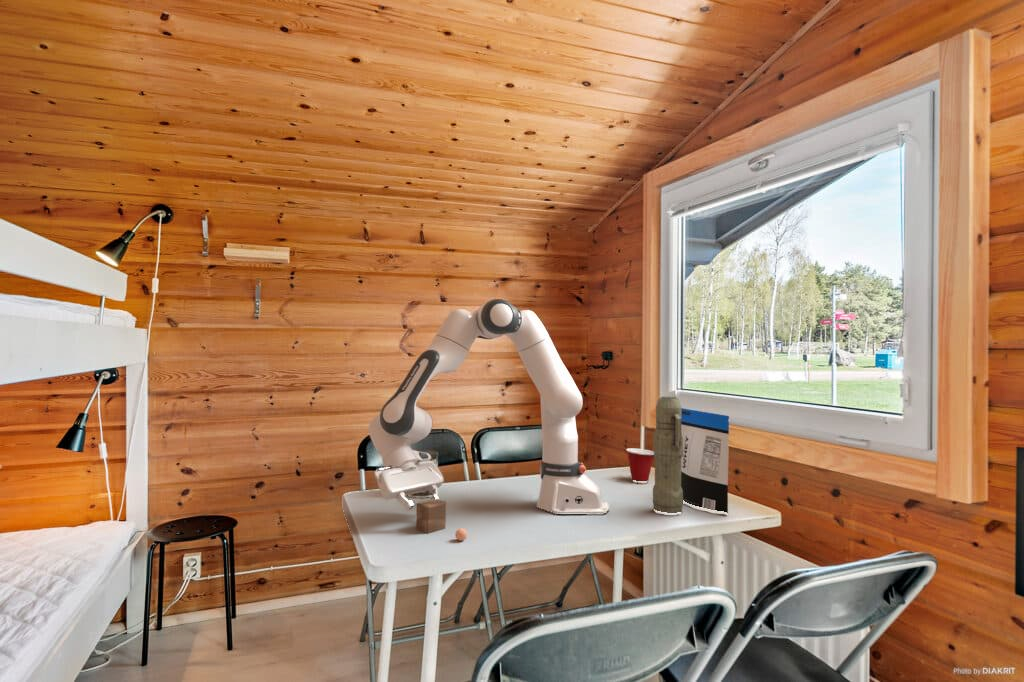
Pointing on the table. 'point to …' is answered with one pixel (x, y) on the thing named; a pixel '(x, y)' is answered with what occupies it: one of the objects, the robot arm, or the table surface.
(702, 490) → the protein powder
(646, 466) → the plastic cup
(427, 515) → the wooden toy cube
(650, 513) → the table surface
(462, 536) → the ball
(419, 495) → the coffee can
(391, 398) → the robot arm
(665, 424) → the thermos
